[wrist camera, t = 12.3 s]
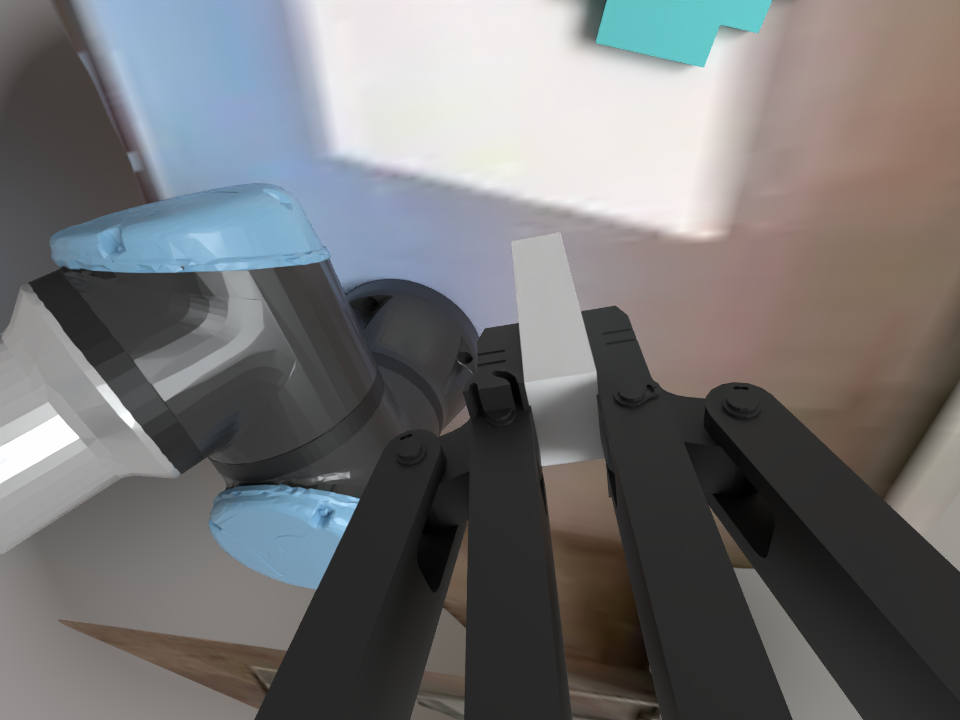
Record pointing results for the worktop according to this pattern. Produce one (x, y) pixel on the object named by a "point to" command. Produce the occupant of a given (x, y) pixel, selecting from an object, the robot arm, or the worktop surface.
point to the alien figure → (676, 25)
